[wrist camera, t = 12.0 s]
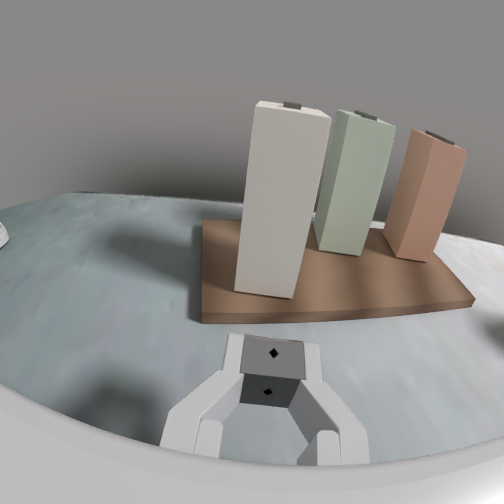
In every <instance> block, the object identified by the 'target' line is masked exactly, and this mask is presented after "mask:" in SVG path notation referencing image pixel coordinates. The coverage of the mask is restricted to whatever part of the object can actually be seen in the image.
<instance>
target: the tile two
mask: <svg viewBox="0 0 504 504" xmlns="http://www.w3.org/2000/svg"><path fill="white" fill-rule="evenodd" d="M395 130H396V127H395V126H393V125H390V124H388V123H386V122H384V121H381V120H379V119H377V117H374V116H372V115H369V114H367V113H364V112H360V111H356V110H355V113H352V112H348V111H344V110H339V109H337V112H336V118H335V123H334V129H333V134H332V139H331V144H330V150H329V155H328V160H327V165H326V169H325V175H324V179H323V184H322V189H321V194H320V198H319V203H318V207H317V211H316V216H315V220H314V224H313V225H314V230H315V234H316V239H317V244H318V249H319V250H323V251H330V252H337V253H343V254H350V255H357V256H360V255H361V252H362V249H363V246H364V243H365V240H366V237H367V234H368V231H369V228H370V225H371V221H372V218H373V214H374V211H375V208H376V205H377V201H378V198H379V194H380V191H381V187H382V183H383V180H384V176H385V172H386V168H387V164H388V160H389V156H390V152H391V148H392V144H393V139H394V134H395Z"/></svg>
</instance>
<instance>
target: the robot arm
mask: <svg viewBox="0 0 504 504" xmlns="http://www.w3.org/2000/svg"><path fill="white" fill-rule="evenodd" d="M8 240H9V236H8V233H7V230H6V229H5V227H4V226H3V225H2V223H1V222H0V248H1V247H2V246H3V245H4V244H5V243H6V242H7V241H8ZM239 403H245V404H255V405H266V406H274V407H283V408H288V410H289V412H290V414H291V415H292V417H293V419H294V420H295V422H296V424H297V425H298V427H299V429H300V430H301V432H302V434H303V435H304V437H305V439H306V440H307V442H308V443H309V445H308V446H307V448H306V449H305V450H304V451H303V453H302V454H301V455H300V456H299V458H298V459H297V465H278V464H264V463H253V462H243V461H235V460H227V459H220V450H221V441H222V432H223V425H222V422H223V421H224V420H225V419H226V418H227V417H228V416H229V415H230V414H231V413H232V411H233V410H234V409H235V408H236V407H237V406H238V405H239ZM0 504H504V436H501V437H498V438H495V439H492V440H489V441H485V442H482V443H479V444H475V445H471V446H468V447H464V448H460V449H456V450H452V451H447V452H443V453H438V454H433V455H428V456H422V457H417V458H410V459H404V460H397V461H388V462H379V463H370V457H369V448H368V440H367V432H366V429H365V427H364V426H363V425H362V424H361V423H360V421H359V420H358V419H357V418H356V417H355V416H354V414H353V413H352V412H351V411H350V410H349V408H348V407H347V406H346V405H345V404H344V402H343V401H342V400H341V399H340V398H339V396H338V395H337V394H336V393H335V392H334V390H333V389H332V388H331V387H330V386H329V384H328V383H327V382H325V381H322V375H321V365H320V354H319V345H318V343H317V342H306V341H303V342H302V341H297V340H286V339H277V338H267V337H260V336H254V335H248V334H245V336H244V334H240V333H234V332H229V335H228V339H227V345H226V350H225V355H224V361H223V366H222V370H216V371H215V372H214V373H213V374H212V375H211V376H210V377H208V378H207V379H206V380H205V381H204V382H203V383H201V384H200V385H199V386H198V387H197V388H196V389H194V390H193V391H192V392H191V393H190V394H189V395H187V396H186V397H185V398H184V399H183V400H181V401H180V402H179V403H178V404H177V405H175V406H174V407H173V408H172V409H170V410H169V413H168V417H167V420H166V424H165V427H164V431H163V435H162V438H161V442H160V445H159V446H156V445H152V444H148V443H144V442H141V441H137V440H134V439H130V438H127V437H124V436H120V435H117V434H114V433H111V432H108V431H105V430H102V429H100V428H97V427H94V426H91V425H89V424H86V423H83V422H81V421H78V420H76V419H73V418H71V417H68V416H66V415H64V414H61V413H59V412H57V411H55V410H52V409H50V408H48V407H46V406H44V405H42V404H40V403H37V402H35V401H33V400H31V399H29V398H27V397H26V396H24V395H22V394H20V393H18V392H16V391H14V390H12V389H11V388H9V387H7V386H5V385H3V384H2V383H0Z"/></svg>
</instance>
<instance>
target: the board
mask: <svg viewBox="0 0 504 504" xmlns="http://www.w3.org/2000/svg"><path fill="white" fill-rule="evenodd" d="M241 223H242V220H219V219H203V221H202V267H201V320H202V323H208V324H253V323H294V322H318V321H336V320H352V319H365V318H378V317H389V316H400V315H409V314H419V313H427V312H436V311H444V310H451V309H458V308H466V307H471V306H472V304H473V303H474V301H475V299H476V298H475V297H474V296H473V295H472V294H471V293H470V291H469V290H468V289H467V288H466V287H465V286H464V285H463V283H462V282H461V281H460V280H459V279H458V278H457V277H456V276H455V274H454V273H453V272H452V271H451V270H450V269H449V268H448V267H447V266H446V265H445V264H444V263H443V261H442V260H441V259H440V258H439V257H438V256H437V255H436V254H435V253H434V252H433V253H432V255H431V257H430V260H429V262H423V261H417V260H411V259H405V258H398V257H396V256H395V254H394V252H393V251H392V249H391V247H390V245H389V243H388V242H387V240H386V238H385V237H384V235H383V230H384V229H377V228H369V231H368V234H367V237H366V240H365V243H364V246H363V249H362V252H361V255H360V256H357V255H350V254H343V253H337V252H330V251H323V250H319V249H318V244H317V239H316V234H315V230H314V225H313V224H310V228H309V232H308V236H307V241H306V245H305V249H304V254H303V258H302V262H301V266H300V270H299V274H298V278H297V282H296V286H295V290H294V294H293V298H292V299H291V298H283V297H276V296H268V295H261V294H254V293H247V292H240V291H234V287H235V278H236V269H237V259H238V250H239V241H240V232H241Z"/></svg>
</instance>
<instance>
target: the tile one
mask: <svg viewBox="0 0 504 504" xmlns="http://www.w3.org/2000/svg"><path fill="white" fill-rule="evenodd" d="M331 120H332V118H330V117H329V116H327V115H326V114H324V113H323V112H321V111H320V110H315V109H310V108H305V107H301V104H297V103H292V102H285V101H284V104H279V103H272V102H265V101H260V102H259V103H258V104H257V105H256V106H255V112H254V120H253V129H252V137H251V146H250V153H249V162H248V170H247V179H246V187H245V197H244V205H243V214H242V223H241V232H240V241H239V250H238V259H237V269H236V278H235V287H234V291H240V292H247V293H254V294H261V295H268V296H276V297H283V298H291V299H292V298H293V294H294V290H295V286H296V282H297V278H298V274H299V270H300V266H301V262H302V258H303V254H304V249H305V245H306V241H307V236H308V232H309V228H310V223H311V219H312V214H313V210H314V205H315V200H316V196H317V191H318V187H319V181H320V177H321V171H322V167H323V162H324V157H325V151H326V147H327V142H328V136H329V131H330V125H331Z"/></svg>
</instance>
